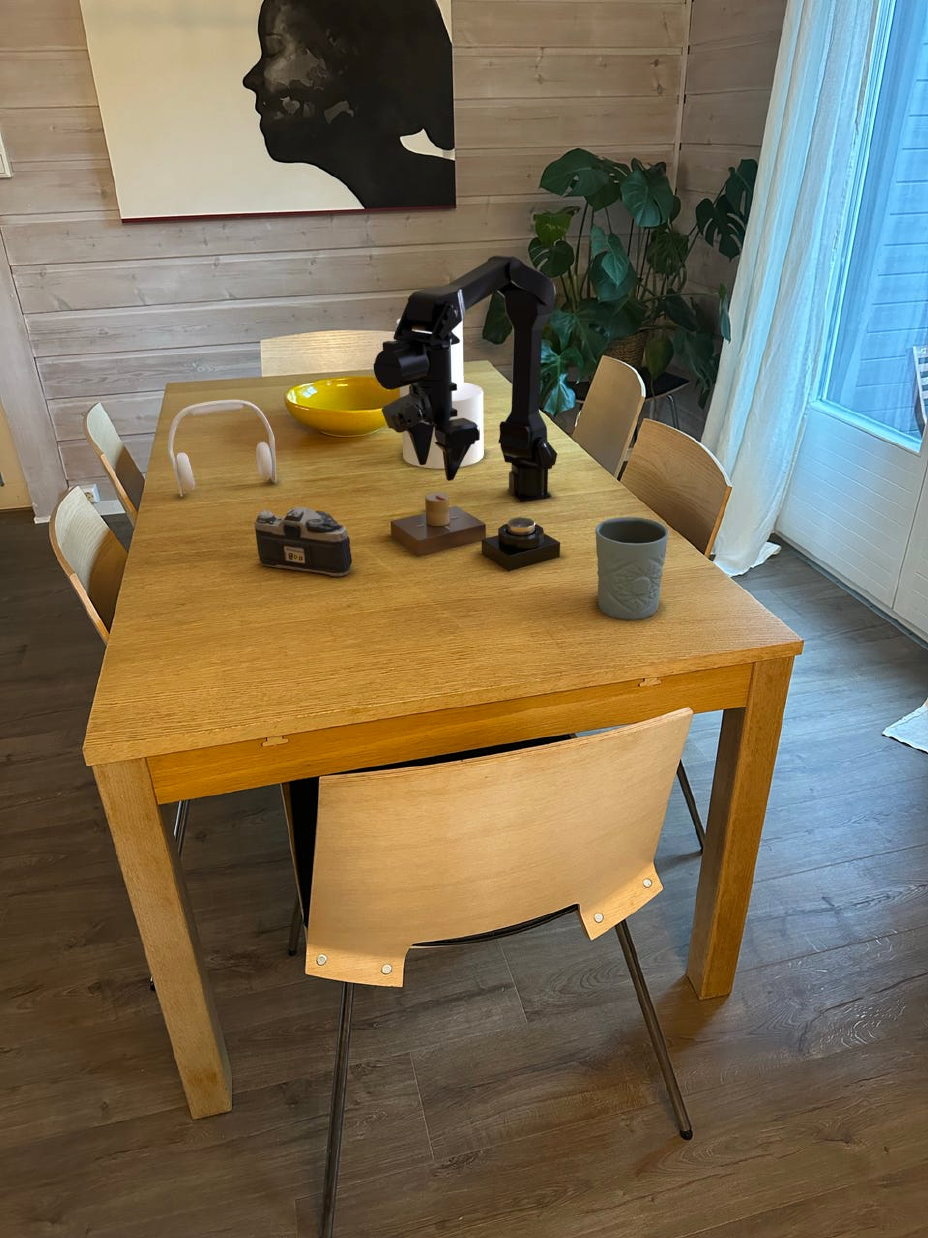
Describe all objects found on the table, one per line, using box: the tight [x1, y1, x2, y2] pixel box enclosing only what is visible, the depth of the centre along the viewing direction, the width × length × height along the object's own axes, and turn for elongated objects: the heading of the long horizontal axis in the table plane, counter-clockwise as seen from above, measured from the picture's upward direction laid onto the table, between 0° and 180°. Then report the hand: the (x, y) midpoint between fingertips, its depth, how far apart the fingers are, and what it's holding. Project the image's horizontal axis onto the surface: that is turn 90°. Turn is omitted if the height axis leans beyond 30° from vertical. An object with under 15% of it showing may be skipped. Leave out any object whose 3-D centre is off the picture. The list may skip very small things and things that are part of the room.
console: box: [389, 505, 487, 558], centre depth 153 cm, size 13×10×3 cm
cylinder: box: [396, 317, 484, 470], centre depth 187 cm, size 17×17×28 cm
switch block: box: [481, 523, 561, 572], centre depth 146 cm, size 10×8×4 cm
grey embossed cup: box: [595, 516, 670, 621], centre depth 129 cm, size 10×10×12 cm
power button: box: [506, 517, 536, 537], centre depth 145 cm, size 4×4×2 cm
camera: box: [254, 505, 353, 577], centre depth 144 cm, size 16×10×10 cm, turn 71°
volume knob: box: [424, 492, 450, 526], centre depth 152 cm, size 4×4×5 cm
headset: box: [167, 399, 278, 498], centre depth 172 cm, size 20×7×18 cm, turn 112°
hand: (436, 472), depth 149 cm, fingers open, 9 cm apart
